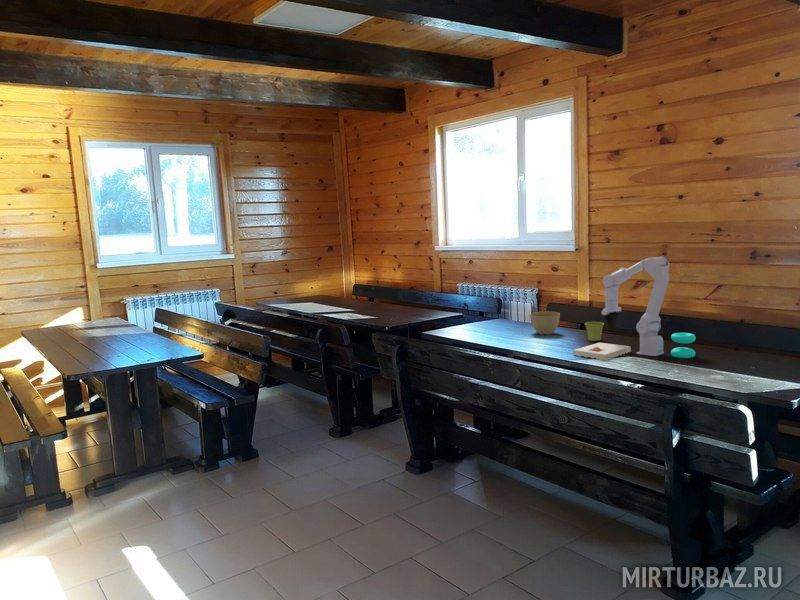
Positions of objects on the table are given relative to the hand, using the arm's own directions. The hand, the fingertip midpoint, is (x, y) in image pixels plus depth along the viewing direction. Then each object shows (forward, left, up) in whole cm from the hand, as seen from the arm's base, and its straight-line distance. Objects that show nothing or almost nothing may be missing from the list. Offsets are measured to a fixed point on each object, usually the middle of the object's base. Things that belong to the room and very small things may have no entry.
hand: (611, 328), depth 302 cm
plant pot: (+16, -11, -10) cm, 22 cm away
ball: (-4, +20, -7) cm, 22 cm away
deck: (-4, +15, -9) cm, 18 cm away
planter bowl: (+47, -12, -10) cm, 49 cm away
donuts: (-34, -1, -10) cm, 35 cm away
